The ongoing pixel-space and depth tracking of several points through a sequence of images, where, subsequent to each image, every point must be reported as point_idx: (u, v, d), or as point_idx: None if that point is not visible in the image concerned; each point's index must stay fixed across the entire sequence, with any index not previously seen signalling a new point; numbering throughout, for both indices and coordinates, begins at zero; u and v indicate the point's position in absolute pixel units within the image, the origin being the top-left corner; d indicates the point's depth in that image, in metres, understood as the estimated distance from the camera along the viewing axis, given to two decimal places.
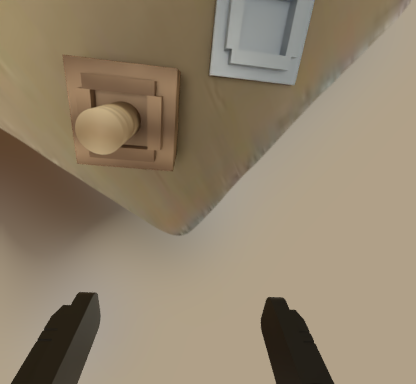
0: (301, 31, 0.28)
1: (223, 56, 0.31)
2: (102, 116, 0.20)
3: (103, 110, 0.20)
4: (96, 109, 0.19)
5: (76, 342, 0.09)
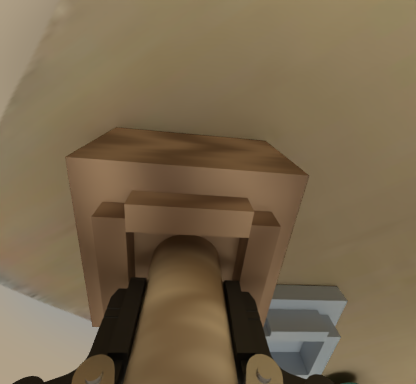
0: None
1: None
2: None
3: None
4: None
5: (137, 319, 0.10)
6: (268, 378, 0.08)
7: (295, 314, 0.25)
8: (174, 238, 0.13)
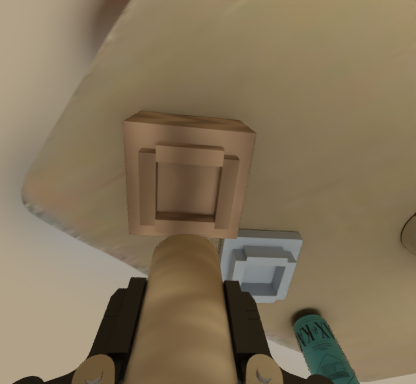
0: None
1: (239, 245, 0.35)
2: None
3: None
4: None
5: (137, 319, 0.10)
6: (268, 378, 0.08)
7: (265, 248, 0.34)
8: (174, 237, 0.13)
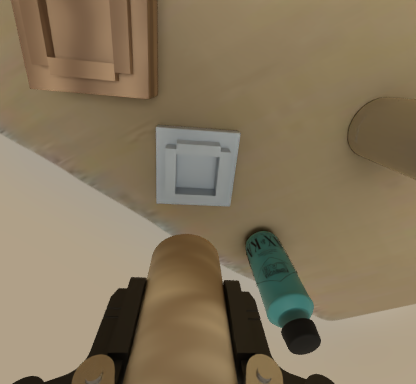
0: (192, 202, 0.35)
1: (172, 139, 0.33)
2: None
3: None
4: None
5: (137, 319, 0.10)
6: (268, 378, 0.08)
7: (200, 141, 0.33)
8: (174, 238, 0.13)
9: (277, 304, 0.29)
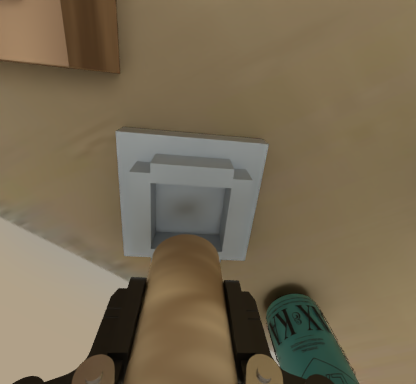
0: None
1: (147, 153, 0.19)
2: None
3: None
4: None
5: (137, 319, 0.10)
6: (268, 378, 0.08)
7: (196, 158, 0.18)
8: (174, 238, 0.13)
9: None
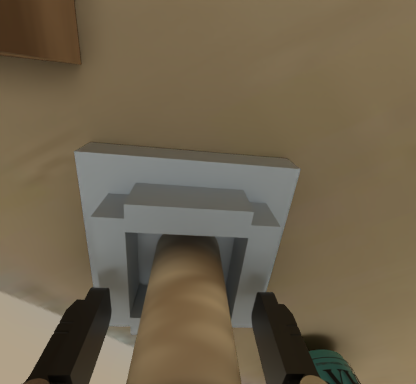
0: None
1: (123, 183, 0.13)
2: None
3: None
4: None
5: (91, 334, 0.09)
6: None
7: (195, 191, 0.12)
8: None
9: None
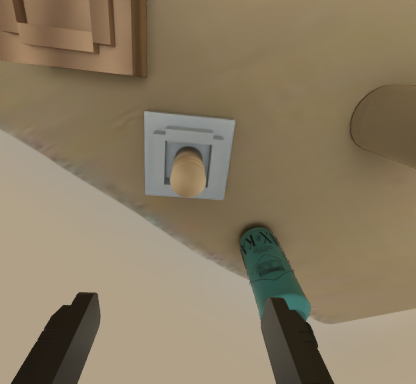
0: None
1: (162, 125, 0.31)
2: (200, 185, 0.26)
3: (204, 186, 0.26)
4: (205, 181, 0.26)
5: (76, 342, 0.09)
6: None
7: (191, 128, 0.31)
8: (184, 147, 0.32)
9: None
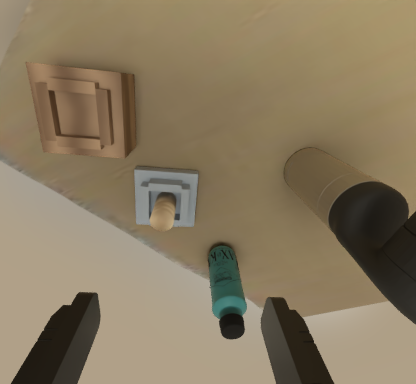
0: None
1: (147, 178, 0.44)
2: (169, 223, 0.40)
3: (172, 224, 0.40)
4: (173, 221, 0.39)
5: (76, 342, 0.09)
6: None
7: (167, 180, 0.44)
8: (162, 192, 0.45)
9: (217, 303, 0.40)
